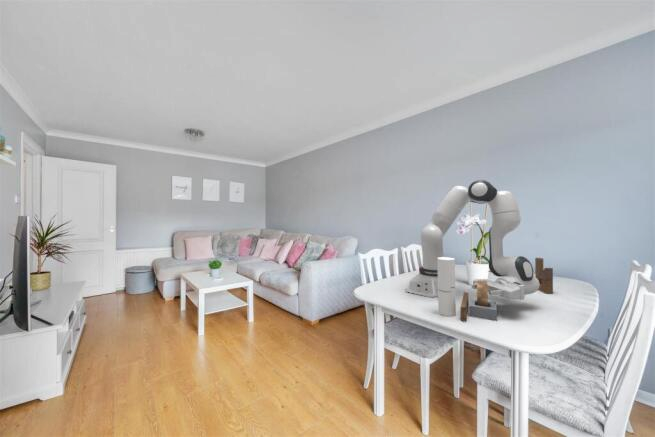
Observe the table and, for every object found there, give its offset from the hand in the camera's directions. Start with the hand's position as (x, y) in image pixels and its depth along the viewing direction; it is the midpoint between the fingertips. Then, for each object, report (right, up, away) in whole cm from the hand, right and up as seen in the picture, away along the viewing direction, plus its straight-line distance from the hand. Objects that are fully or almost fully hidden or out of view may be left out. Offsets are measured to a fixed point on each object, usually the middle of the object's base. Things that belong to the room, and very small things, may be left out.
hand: (480, 289), depth 112 cm
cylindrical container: (-15, -11, +1) cm, 19 cm away
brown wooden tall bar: (0, -10, -1) cm, 10 cm away
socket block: (0, -11, -1) cm, 11 cm away
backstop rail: (-6, -11, +2) cm, 12 cm away
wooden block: (+53, -9, +28) cm, 61 cm away
